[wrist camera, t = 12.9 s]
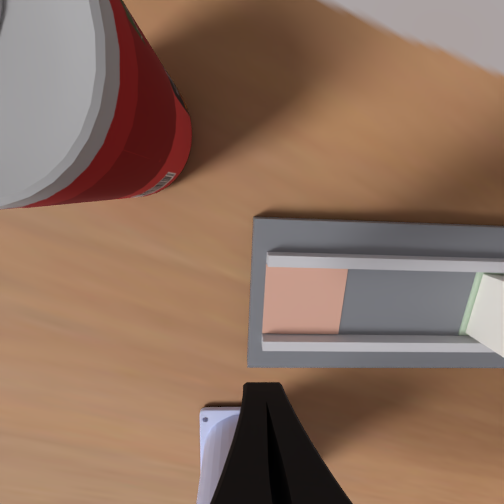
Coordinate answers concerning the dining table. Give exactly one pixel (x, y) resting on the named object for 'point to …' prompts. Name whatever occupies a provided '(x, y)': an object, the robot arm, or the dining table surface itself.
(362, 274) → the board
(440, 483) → the dining table surface
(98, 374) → the dining table surface
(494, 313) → the white block
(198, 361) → the dining table surface
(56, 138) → the canned food
